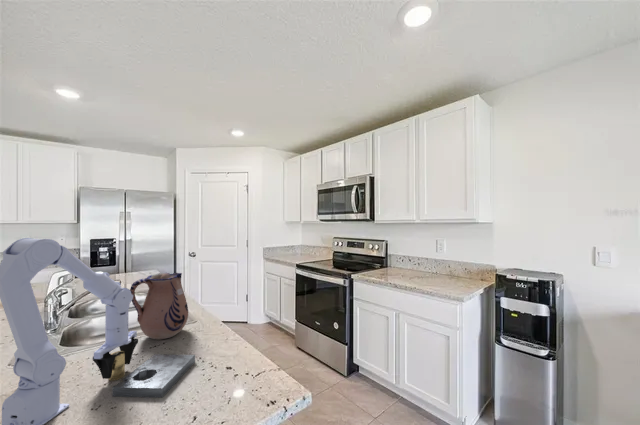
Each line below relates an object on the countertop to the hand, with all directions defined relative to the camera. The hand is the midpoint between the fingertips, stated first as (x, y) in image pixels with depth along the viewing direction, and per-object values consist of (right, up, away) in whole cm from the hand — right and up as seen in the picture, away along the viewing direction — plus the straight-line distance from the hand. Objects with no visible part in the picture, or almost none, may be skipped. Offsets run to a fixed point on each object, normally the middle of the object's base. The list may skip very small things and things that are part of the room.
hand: (116, 370), depth 84 cm
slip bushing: (0, -2, 0) cm, 2 cm away
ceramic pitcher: (-3, -3, +28) cm, 28 cm away
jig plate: (+13, -2, -1) cm, 13 cm away
